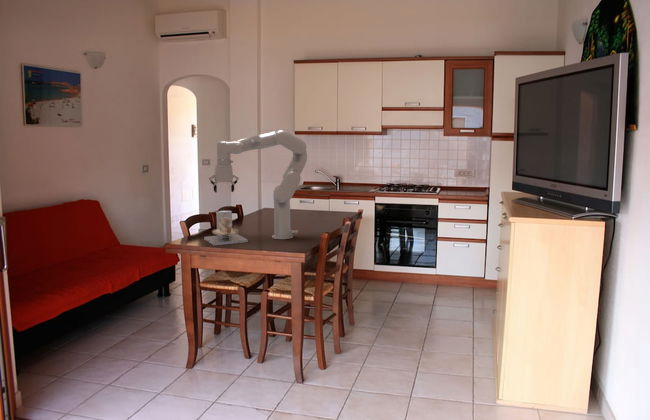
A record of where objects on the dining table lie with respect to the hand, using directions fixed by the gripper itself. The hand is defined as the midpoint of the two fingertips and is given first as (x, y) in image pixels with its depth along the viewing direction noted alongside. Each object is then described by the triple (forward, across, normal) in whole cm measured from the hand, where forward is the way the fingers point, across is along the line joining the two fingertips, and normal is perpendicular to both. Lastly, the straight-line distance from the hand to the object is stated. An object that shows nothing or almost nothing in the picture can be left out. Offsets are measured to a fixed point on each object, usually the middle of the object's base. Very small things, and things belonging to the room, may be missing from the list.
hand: (224, 192), depth 325 cm
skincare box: (+29, -3, -16) cm, 33 cm away
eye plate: (+28, 0, +2) cm, 28 cm away
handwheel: (+26, 0, +2) cm, 27 cm away
